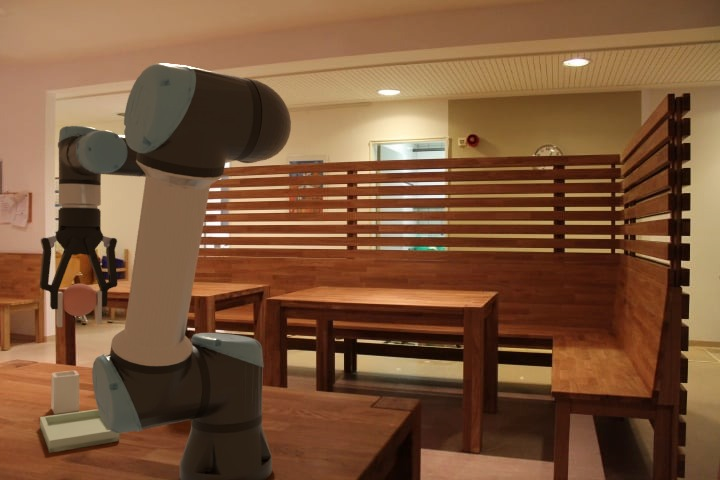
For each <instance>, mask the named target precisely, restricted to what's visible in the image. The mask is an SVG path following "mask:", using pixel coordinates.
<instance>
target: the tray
mask: <svg viewBox="0 0 720 480" xmlns="http://www.w3.org/2000/svg"><path fill="white" fill-rule="evenodd" d="M39 429H40V432H41V434H42V436H43V439H44V442H45V446H46V448H47V450H48V453H57V452H63V451H67V450H68V451H69V450H74V449H80V448H81V449H82V448H86V447H92V446H99V445H104V444H109V443H115V442H116V443H117V442H120V433H114V432H112V431H111V430H109V429H108V428H107V427H106V425H105V424H104V422H103V420H102V418H101V416H100V413H99V410H98V408H96V409H89V410H82V411H80V410H79V411H74V412H66V413H59V414H52V415H46V416H40V417H39Z"/></svg>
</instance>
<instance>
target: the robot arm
mask: <svg viewBox="0 0 720 480" xmlns="http://www.w3.org/2000/svg"><path fill="white" fill-rule="evenodd" d="M286 104H287V103H285V101H284V99H283V98H282V97H281V96H280V94H279V93H278V92H276V91H275V89H273V88H272V87H270V86H269V85H267V84H265V83H263V82H262V81H258V80H256V79H253V78H252V79H251V78H247V77H240V76H235V75H230V74H225V73H220V72H216V71H210V70H206V69H202V68H196V67H192V66H189V65H184V64H181V65H180V64H172V63H163V62H162V63H161V62H160V63H159V62H158V63H154V64H151V65H150V66H148V67H146V68H145V69H144V70H143V71H142V72H141V73H140V74H139V76H138V77H137V78H136V80H135V81H134V83H133V85H132V88H131V90H130V92H129V95H128V97H127V102H126V105H125V111H124V118H123V125H124V126H125V128H124V131H123V132H124V135H123V134H117V133H115V132H113V131H111V130H106V129H105V130H104V129H103V130H102V129H101V130H100V129H97V128H94V127H90V126H84V125H83V126H82V125H70V126H69V125H68V126H62V128H61V129H60V130H59V134H58V135H59V136H58V143H57V148H58V204H59V205H60V206H61V207H60V208H59V209H58V213H57V216H58V221H57V222H58V223H57V224H58V225H57V226H58V229H57V232H56V234H55V235H53V236H48V237H41V238H40V244H41V247H42V259H41V268H40V277H39V288H40V289H41V290H43V291H47V292H49V301H50V302H49V303H50V305H49V306H50V310H56V317H55V320H56V323H55V324H56V325H55V326H56V327H57V328H63V310H64V308H63V292H62V291H59V290H60V287H61V285H62V282H63V279H64V276H65V274H66V271H67V268H68V265H69V263H70V261H71V259H72V256H75V255H80V254H81V255H85V256H87V258H88V261H89V263H90V265H91V268H92V271H93V274H94V276H95V279H96V283H97V285H98V287H99V289H98V290H97V289H96V290H95V289H94V291H95V293H96V295H97V303H96V306H95V308H94V310H95V311H94V314H95V315H94V318H95V319H94V323H95V324H96V325H102V324H103V323H102V319H103V315H102V314H103V313H102V311H103V310H102V309H103V308H104V307H107V305H108V292H109V290H110V289H113V288H116V287H117V286H118V275H117V262H116V250H115V249H116V247H117V244H118V239H117V238H115V237H108V236H105V235H104V234H103V233H102V230H101V226H102V224H101V215H102V214H101V213H102V212H101V211H102V210H100V208H98V207H100V206H101V205H102V201H101V200H102V199H101V198H102V195H101V194H102V193H101V192H102V190H101V189H102V188H101V184H102V183H101V180H102V175H110V176H122V177H123V176H124V177H126V176H127V177H144V178H145V180H144V188H143V196H142V202H141V208H140V216H139V223H138V224H139V225H138V231H137V235H136V237H137V238H136V244H135V252H134V258H133V265H132V273H131V282H130V288H129V295H128V303H127V309H126V314H125V324H124V329H122V330H121V331H119V332H118V333H116V334H115V335H114V337H112V340H111V345H110V351H109V354H106V353H103V354H102V355H100V356H97V357H96V358H95V359H94V361H93V363H92V370H91V371H92V372H91V373H92V376H91V377H92V386H93V387H92V388H93V394H94V399H95V402H96V407H97V409H98V410H99V413H100V416H101V418H102V420H103V422H104V424H105V425H106V427H107V428H108V429H109V430H111V431H112V432H114V433H119V434H125V433H130V432H131V433H132V432H138V433H139V432H142V431H144V430H148V429H152V428H157V427H162V426H165V425H166V426H167V425H172V424H177V423H181V422H186V421H187V422H188V421H191V423H190V431H189V434H188V436H187V440H186V444H185V446H184V450H183V452H182V456H181V458H180V462H179V480H267V479H268V478H269V477H271V474H272V473H273V456H272V453H271V449H270V446H269V444H268V443H269V442H268V441H267V437H266V433H265V430H264V428H263V387H264V386H263V385H264V384H263V381H264V380H263V378H264V374H263V373H264V372H263V371H264V370H263V369H264V368H265V365H264V354H263V346H262V345H261V343H260V341H258V340H257V339H255V338H253V337H249V336H245V335H237V334H231V333H218V332H199V333H195V334H193V335H192V337H191V338H188V336H186V332H187V331H186V330H187V324H188V318H189V312H190V306H191V300H192V294H193V289H194V284H195V283H194V282H195V276H196V271H197V265H198V261H199V260H198V258H199V254H200V247H201V241H202V236H203V230H204V224H205V216H206V213H207V207H208V200H209V194H210V188H211V185H213V184H214V183H216V182H218V181H219V180H220V179H222V178H223V176H224V172H225V167H226V164H227V163H231V162H235V161H237V162H239V163H243V164H253V163H257V162H262V161H266V160H269V159H271V158H273V157H275V156H277V155H278V154H279V153H280V152H281V151H282V150H283V149H284V147H285V146H286V145H287V142H288V141H289V138H290V134H291V128H292V127H291V126H292V125H291V124H292V120H291V115H290V112H289V108H288V106H287V105H286ZM102 242H103V246H104V248H105V254H106V255H105V256H106V265H107V279H108V281H106V278H105V275H104V272H103V270H102V267H101V264H100V260H99V258H98V254H97V251H96V249H97V247H98V246H99V245H100V243H102ZM56 243H59V245H60V247H61V248H62V249H63V251H62V254H61V258H60V260H59V262H58V265H57V268H56V271H55V273H54V276H53V279H52V281H51V284H50V283H49V282H50V279H49V278H50V269H51V258H52V249H53V248H54V247H55V244H56ZM189 339H191V341H190V340H189Z"/></svg>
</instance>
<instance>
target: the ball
mask: <svg viewBox="0 0 720 480" xmlns="http://www.w3.org/2000/svg"><path fill="white" fill-rule="evenodd" d="M62 293H63V310H64V311H65V312H66V313H67V314H69V315H71V316H74V317H83V316H86V315H88V314H90V313H91V312H92V311H93V310H95V306H96V303H97V295H96V293H95V289H94V288H93V287H92V286H90V285H88V284H85V283H75V284H72V285H69V286H68V287H67V288H65V289H64V291H63V292H62Z"/></svg>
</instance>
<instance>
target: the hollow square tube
mask: <svg viewBox="0 0 720 480" xmlns="http://www.w3.org/2000/svg"><path fill="white" fill-rule="evenodd" d="M50 396H51V397H50V399H51V400H50V401H51V404H50V405H51V406H50V407H51V411H52V412H53V415H59V414H66V413H73V412H80V374H79V372H78V371H77V370H65V371H57V372H55V371H54V372H51V395H50Z"/></svg>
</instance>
